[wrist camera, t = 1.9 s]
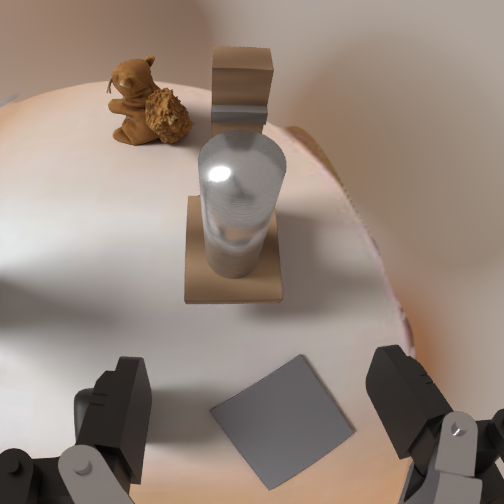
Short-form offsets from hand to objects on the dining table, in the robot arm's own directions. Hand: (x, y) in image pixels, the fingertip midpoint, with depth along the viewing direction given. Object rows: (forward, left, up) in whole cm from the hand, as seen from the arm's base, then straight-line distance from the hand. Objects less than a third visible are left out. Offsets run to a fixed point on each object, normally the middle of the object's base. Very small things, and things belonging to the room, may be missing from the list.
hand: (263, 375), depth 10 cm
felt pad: (+2, -8, -25) cm, 27 cm away
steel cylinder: (+6, +10, -17) cm, 21 cm away
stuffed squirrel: (+8, +36, -26) cm, 45 cm away
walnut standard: (+7, +13, -25) cm, 29 cm away
